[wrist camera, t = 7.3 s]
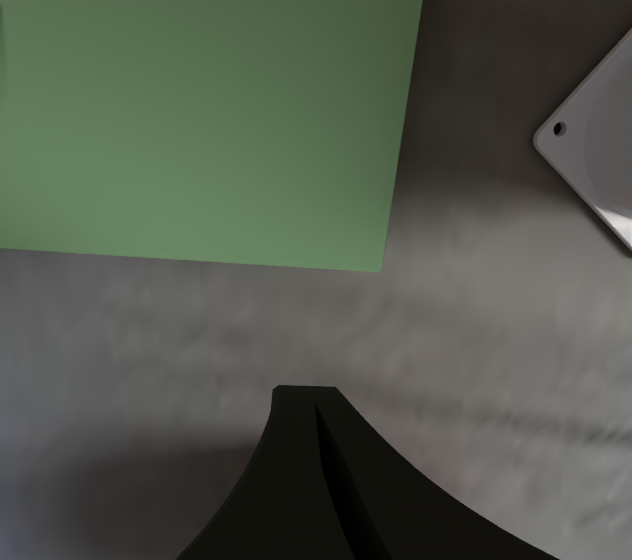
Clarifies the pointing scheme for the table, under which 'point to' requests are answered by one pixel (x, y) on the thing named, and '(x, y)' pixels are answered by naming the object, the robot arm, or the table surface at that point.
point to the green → (204, 128)
